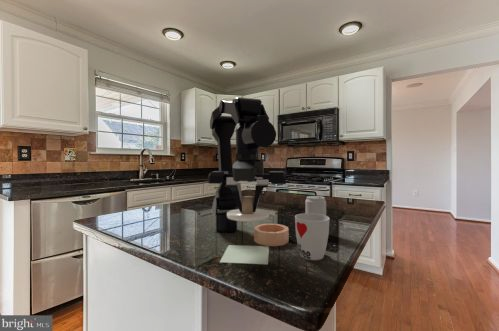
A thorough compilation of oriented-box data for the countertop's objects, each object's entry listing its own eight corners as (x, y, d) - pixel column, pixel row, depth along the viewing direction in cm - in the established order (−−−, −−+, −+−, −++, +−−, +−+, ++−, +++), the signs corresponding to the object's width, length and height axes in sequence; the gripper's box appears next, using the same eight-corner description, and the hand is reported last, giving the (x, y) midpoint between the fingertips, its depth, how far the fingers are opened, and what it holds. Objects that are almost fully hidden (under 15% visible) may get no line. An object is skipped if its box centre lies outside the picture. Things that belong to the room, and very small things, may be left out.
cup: (291, 252, 62) (291, 213, 62) (321, 250, 63) (321, 212, 63) (300, 265, 54) (300, 221, 54) (335, 264, 55) (335, 220, 55)
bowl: (253, 247, 66) (252, 232, 66) (255, 236, 75) (255, 223, 75) (289, 248, 65) (289, 233, 65) (287, 236, 74) (287, 224, 74)
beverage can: (327, 238, 73) (327, 198, 73) (305, 236, 75) (305, 198, 74) (325, 231, 79) (325, 195, 79) (305, 230, 81) (305, 195, 80)
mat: (219, 264, 55) (219, 262, 55) (228, 247, 66) (228, 245, 66) (267, 266, 54) (267, 264, 54) (269, 248, 65) (269, 246, 65)
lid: (222, 220, 56) (222, 200, 55) (231, 211, 66) (231, 193, 66) (267, 221, 54) (267, 200, 54) (269, 211, 65) (269, 194, 65)
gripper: (200, 148, 53) (201, 219, 53) (286, 147, 51) (286, 221, 51) (213, 150, 64) (214, 208, 64) (285, 149, 62) (285, 210, 62)
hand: (247, 211), depth 60 cm, fingers closed on lid, 3 cm apart
